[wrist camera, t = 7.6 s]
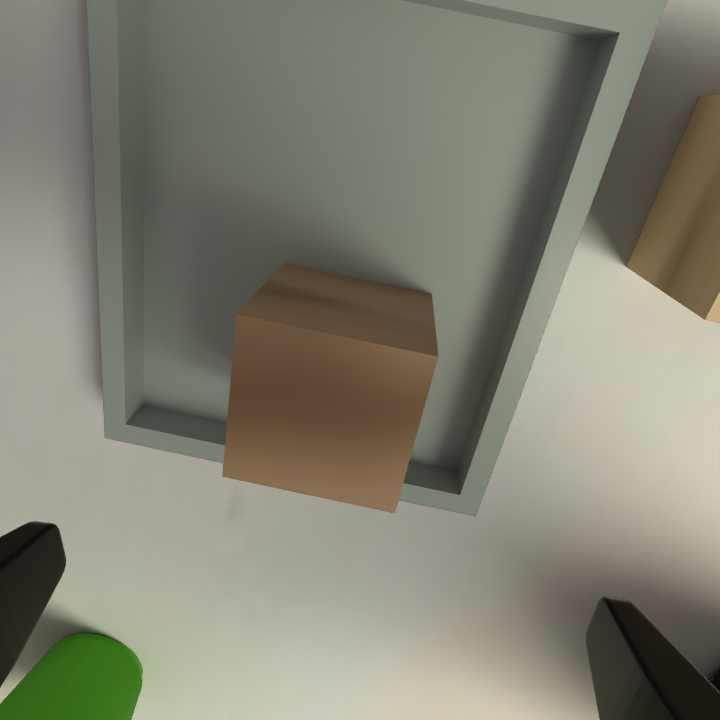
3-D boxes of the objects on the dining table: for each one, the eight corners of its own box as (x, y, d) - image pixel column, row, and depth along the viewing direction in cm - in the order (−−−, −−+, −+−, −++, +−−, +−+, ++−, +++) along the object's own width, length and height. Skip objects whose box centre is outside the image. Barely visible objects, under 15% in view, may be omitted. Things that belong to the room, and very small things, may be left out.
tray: (634, 15, 14) (667, -1, 12) (470, 481, 21) (475, 516, 19) (125, -88, 14) (81, -120, 12) (131, 410, 21) (104, 438, 19)
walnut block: (399, 420, 19) (394, 513, 14) (267, 392, 19) (222, 476, 14) (432, 293, 17) (438, 356, 12) (283, 262, 17) (236, 314, 12)
